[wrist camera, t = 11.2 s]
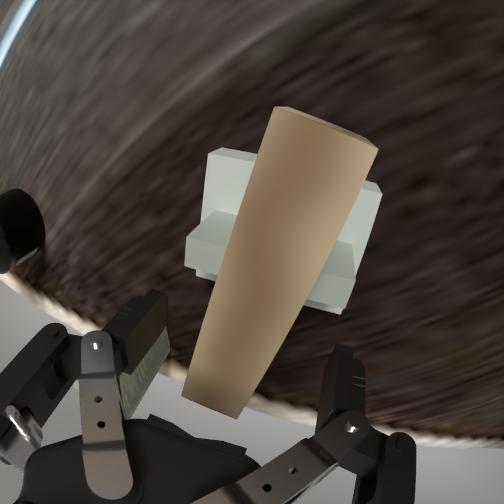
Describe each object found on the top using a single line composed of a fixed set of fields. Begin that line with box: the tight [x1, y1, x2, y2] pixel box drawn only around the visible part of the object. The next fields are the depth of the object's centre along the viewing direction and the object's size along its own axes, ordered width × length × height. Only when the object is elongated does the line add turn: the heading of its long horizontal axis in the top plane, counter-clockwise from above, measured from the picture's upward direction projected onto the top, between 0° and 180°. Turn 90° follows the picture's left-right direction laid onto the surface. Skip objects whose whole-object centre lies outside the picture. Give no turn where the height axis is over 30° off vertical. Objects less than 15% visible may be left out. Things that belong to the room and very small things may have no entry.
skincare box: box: [73, 327, 171, 419], centre depth 29 cm, size 6×4×12 cm
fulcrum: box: [185, 148, 382, 314], centre depth 22 cm, size 12×10×8 cm
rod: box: [182, 107, 378, 419], centre depth 17 cm, size 4×18×4 cm, turn 162°
